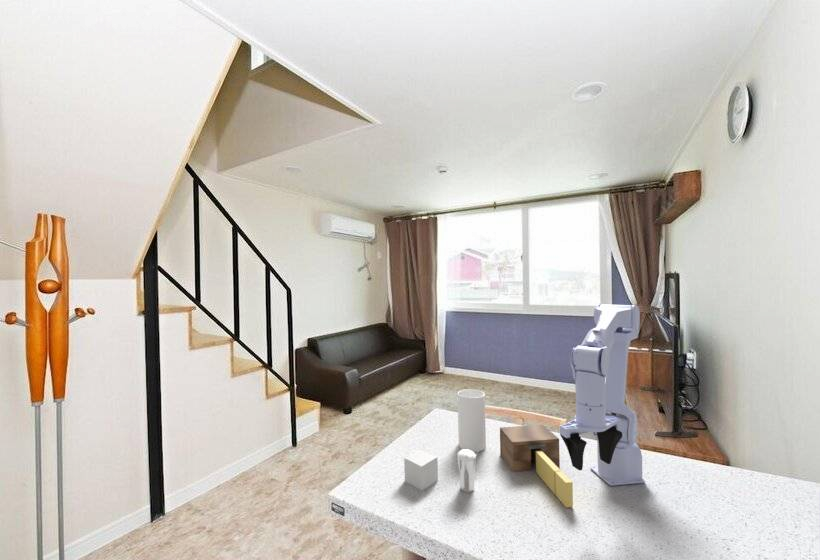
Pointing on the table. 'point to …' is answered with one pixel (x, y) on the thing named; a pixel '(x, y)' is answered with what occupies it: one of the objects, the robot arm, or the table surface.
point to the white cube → (421, 469)
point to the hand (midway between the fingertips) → (591, 464)
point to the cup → (471, 420)
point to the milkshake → (466, 469)
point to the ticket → (554, 479)
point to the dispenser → (527, 445)
